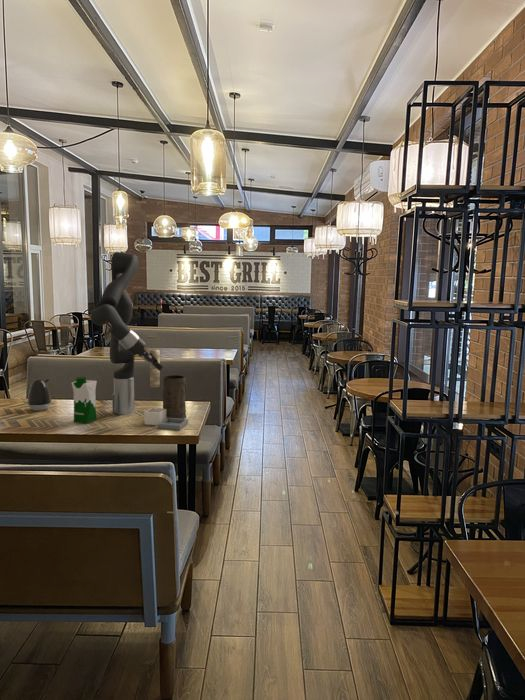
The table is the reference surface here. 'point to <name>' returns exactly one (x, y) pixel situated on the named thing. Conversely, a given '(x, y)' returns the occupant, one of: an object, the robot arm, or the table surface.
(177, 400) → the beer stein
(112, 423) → the table surface
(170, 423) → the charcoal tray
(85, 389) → the milk carton
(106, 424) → the table surface
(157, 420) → the light grey square box
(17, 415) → the table surface
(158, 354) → the birch pin
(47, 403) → the dark grey rounded piece
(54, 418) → the table surface
